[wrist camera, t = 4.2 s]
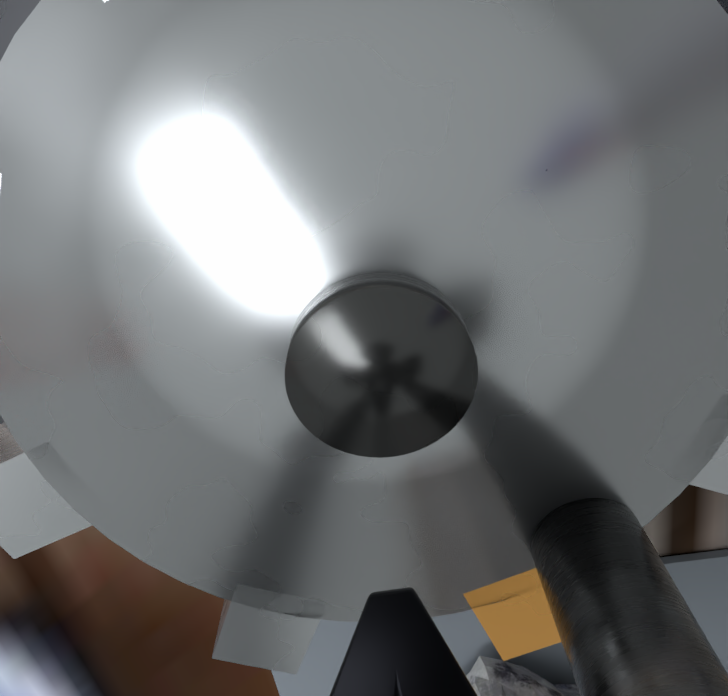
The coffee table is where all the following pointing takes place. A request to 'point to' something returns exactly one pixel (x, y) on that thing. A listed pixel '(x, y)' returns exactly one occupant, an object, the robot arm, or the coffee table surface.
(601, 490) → the sprocket
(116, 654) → the coffee table surface
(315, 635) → the slate mat
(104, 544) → the coffee table surface
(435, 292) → the sprocket base
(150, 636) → the coffee table surface
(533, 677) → the mineral specimen
